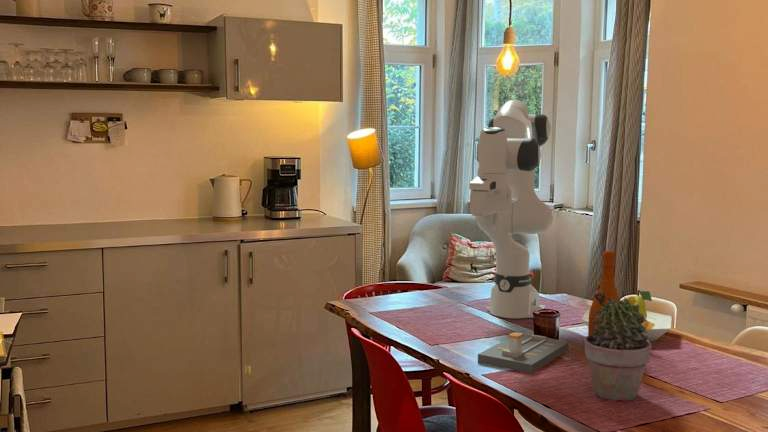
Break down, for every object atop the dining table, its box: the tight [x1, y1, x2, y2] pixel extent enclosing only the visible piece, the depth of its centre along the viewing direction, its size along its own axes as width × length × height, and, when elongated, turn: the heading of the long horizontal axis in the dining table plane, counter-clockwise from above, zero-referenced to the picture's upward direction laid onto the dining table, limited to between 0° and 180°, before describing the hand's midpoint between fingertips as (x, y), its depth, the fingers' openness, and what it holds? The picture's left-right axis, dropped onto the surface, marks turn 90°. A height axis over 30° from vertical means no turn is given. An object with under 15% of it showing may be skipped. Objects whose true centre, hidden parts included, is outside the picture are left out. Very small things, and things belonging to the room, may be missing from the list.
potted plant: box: [578, 289, 663, 402], centre depth 186 cm, size 18×20×25 cm
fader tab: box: [508, 332, 524, 353], centre depth 212 cm, size 3×3×5 cm
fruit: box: [581, 289, 672, 342], centre depth 240 cm, size 30×26×14 cm
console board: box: [477, 332, 570, 374], centre depth 218 cm, size 26×16×4 cm, turn 145°
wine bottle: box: [587, 249, 622, 336], centre depth 218 cm, size 10×10×30 cm
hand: (491, 228), depth 230 cm, fingers closed
